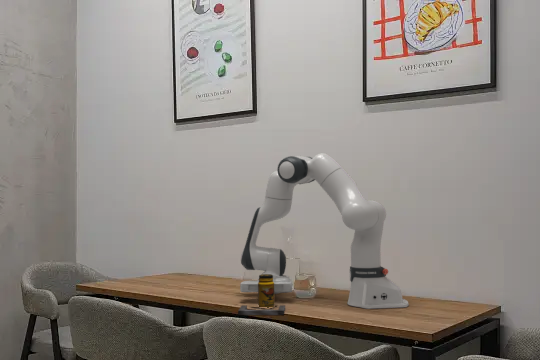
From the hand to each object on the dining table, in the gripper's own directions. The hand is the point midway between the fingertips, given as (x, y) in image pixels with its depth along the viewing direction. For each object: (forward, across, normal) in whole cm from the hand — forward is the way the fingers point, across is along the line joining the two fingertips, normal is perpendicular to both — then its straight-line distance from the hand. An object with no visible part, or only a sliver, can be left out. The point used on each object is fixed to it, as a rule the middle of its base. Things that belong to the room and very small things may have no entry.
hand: (264, 289), depth 235 cm
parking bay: (+12, 0, +6) cm, 13 cm away
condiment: (+3, 0, +6) cm, 7 cm away
